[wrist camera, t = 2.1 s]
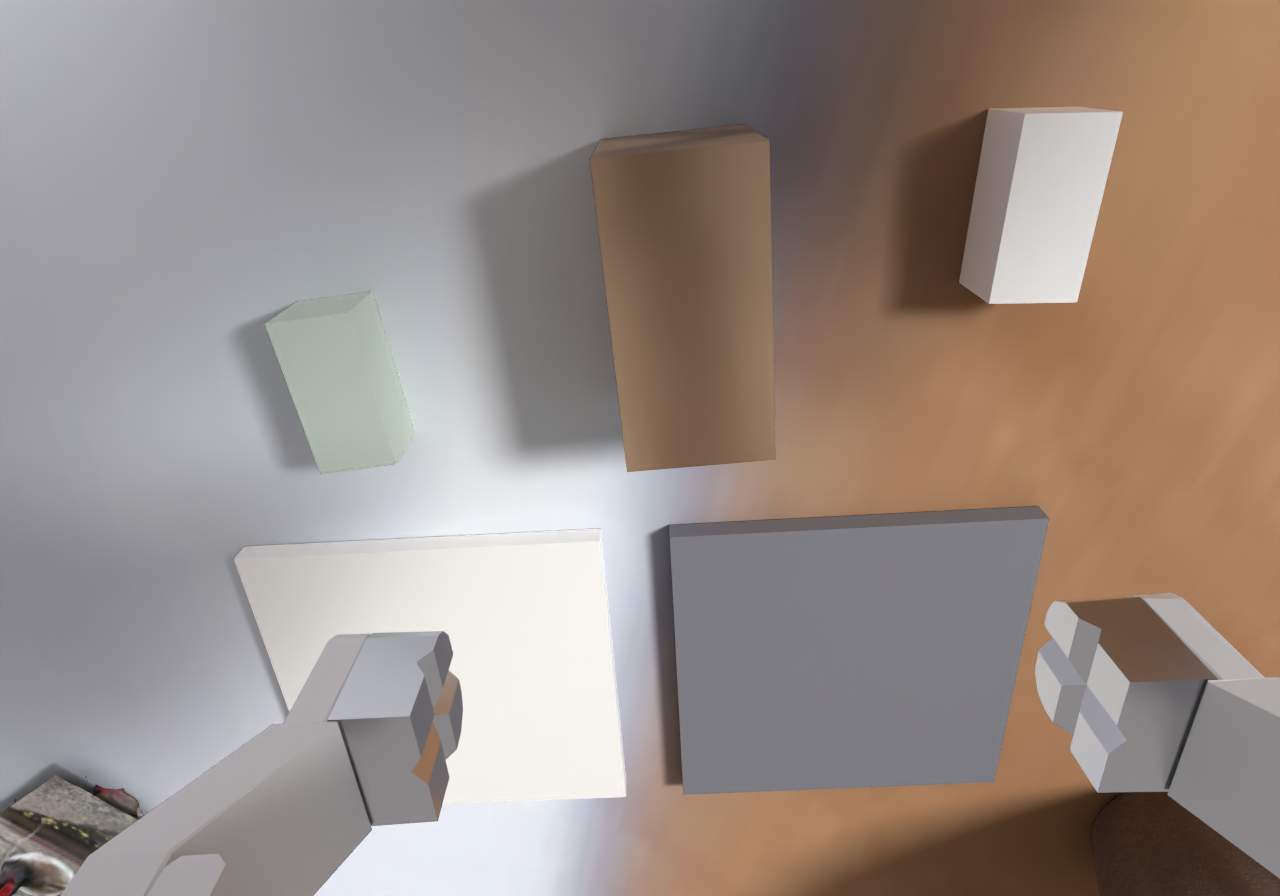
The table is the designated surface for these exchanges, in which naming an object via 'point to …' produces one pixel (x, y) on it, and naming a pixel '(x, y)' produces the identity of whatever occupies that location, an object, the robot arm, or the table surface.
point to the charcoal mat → (850, 647)
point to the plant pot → (1169, 853)
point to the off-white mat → (470, 645)
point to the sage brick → (343, 381)
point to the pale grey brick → (1037, 202)
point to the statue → (57, 834)
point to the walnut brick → (689, 293)
